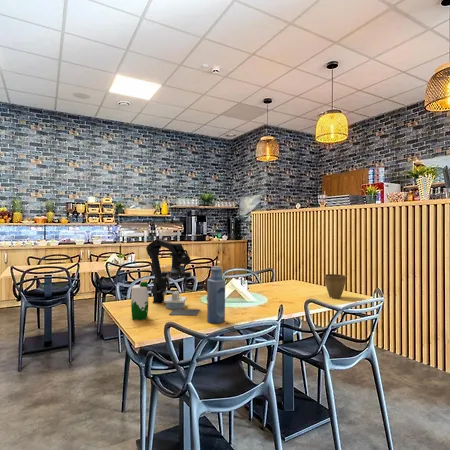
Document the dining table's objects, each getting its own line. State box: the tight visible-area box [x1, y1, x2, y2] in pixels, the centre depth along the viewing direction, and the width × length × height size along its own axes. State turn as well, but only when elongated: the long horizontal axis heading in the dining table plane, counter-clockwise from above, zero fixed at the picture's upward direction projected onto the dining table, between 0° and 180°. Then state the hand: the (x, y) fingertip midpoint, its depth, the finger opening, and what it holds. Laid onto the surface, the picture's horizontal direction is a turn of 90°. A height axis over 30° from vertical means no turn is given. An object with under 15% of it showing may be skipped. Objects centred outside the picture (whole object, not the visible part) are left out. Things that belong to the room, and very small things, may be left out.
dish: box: [165, 300, 186, 310], centre depth 212 cm, size 11×11×4 cm
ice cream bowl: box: [202, 276, 211, 293], centre depth 235 cm, size 11×11×15 cm
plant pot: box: [323, 273, 347, 299], centre depth 241 cm, size 15×15×16 cm
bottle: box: [206, 265, 226, 325], centre depth 182 cm, size 10×10×30 cm
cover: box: [163, 290, 187, 304], centre depth 212 cm, size 12×12×5 cm
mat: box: [169, 308, 200, 317], centre depth 199 cm, size 16×12×1 cm
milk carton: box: [130, 281, 149, 321], centre depth 187 cm, size 9×9×20 cm
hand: (176, 287), depth 213 cm, fingers open, 9 cm apart
